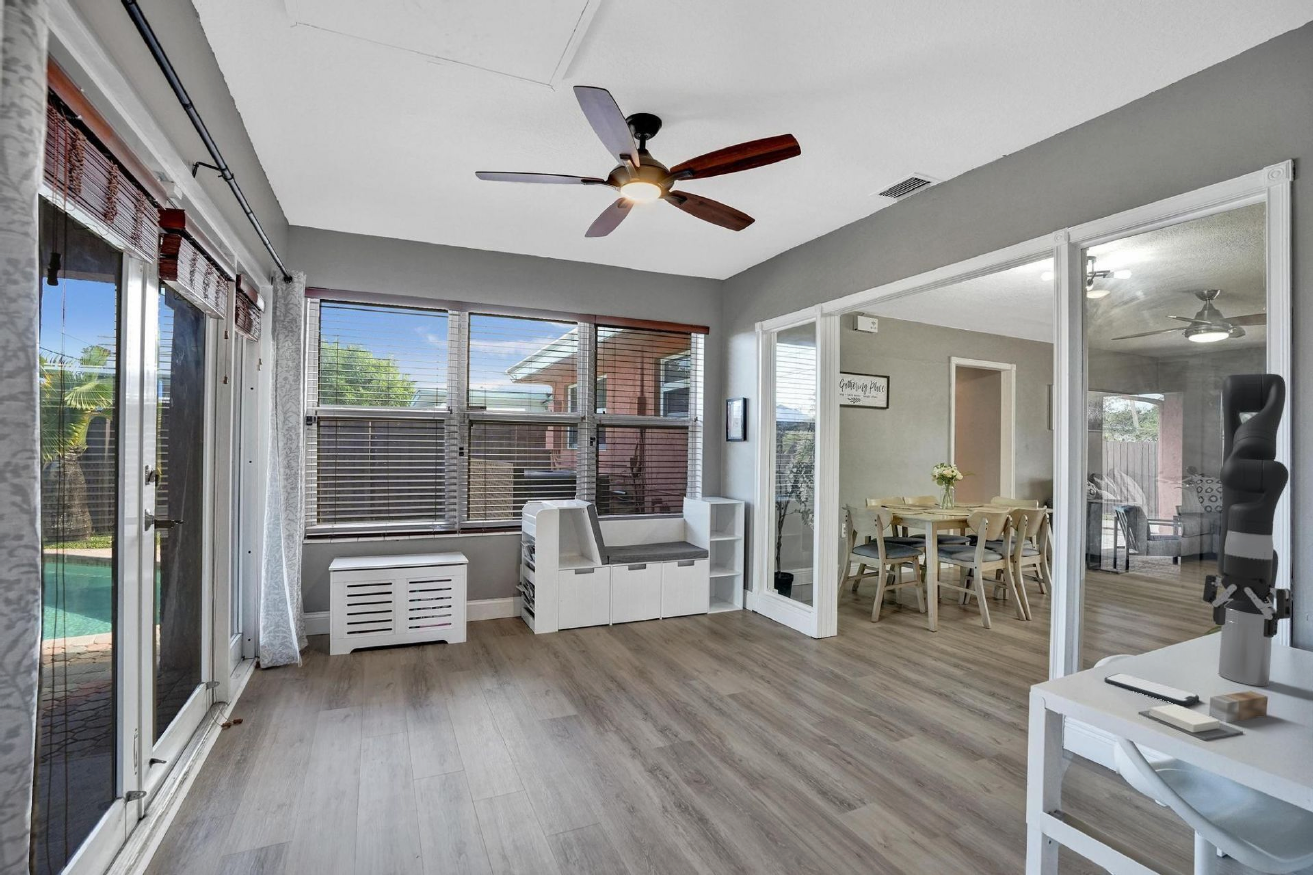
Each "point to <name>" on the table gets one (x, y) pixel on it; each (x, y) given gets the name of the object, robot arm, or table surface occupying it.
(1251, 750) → the table surface
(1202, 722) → the tile
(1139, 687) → the phone case
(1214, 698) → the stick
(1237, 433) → the robot arm
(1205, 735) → the mat
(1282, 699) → the table surface
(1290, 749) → the table surface
